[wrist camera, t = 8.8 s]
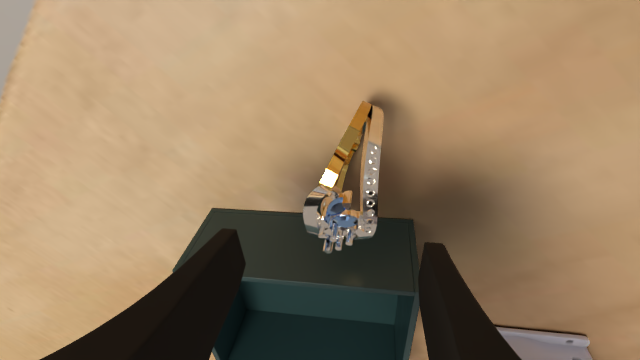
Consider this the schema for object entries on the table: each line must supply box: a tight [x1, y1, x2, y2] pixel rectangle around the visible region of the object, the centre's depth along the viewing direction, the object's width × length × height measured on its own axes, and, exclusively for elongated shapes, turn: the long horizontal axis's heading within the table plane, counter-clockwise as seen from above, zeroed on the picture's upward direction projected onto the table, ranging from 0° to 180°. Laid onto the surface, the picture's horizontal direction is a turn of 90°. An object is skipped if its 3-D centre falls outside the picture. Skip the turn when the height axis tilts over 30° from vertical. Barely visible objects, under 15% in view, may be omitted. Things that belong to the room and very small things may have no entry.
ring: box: [303, 101, 383, 254], centre depth 16 cm, size 7×3×8 cm, turn 161°
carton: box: [172, 208, 420, 360], centre depth 25 cm, size 13×15×6 cm
